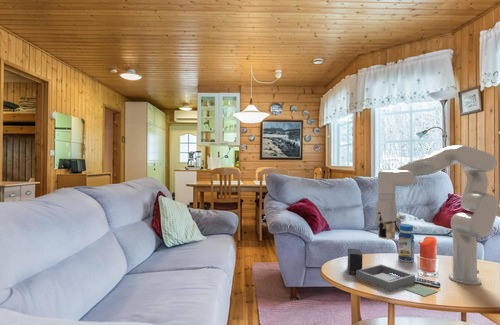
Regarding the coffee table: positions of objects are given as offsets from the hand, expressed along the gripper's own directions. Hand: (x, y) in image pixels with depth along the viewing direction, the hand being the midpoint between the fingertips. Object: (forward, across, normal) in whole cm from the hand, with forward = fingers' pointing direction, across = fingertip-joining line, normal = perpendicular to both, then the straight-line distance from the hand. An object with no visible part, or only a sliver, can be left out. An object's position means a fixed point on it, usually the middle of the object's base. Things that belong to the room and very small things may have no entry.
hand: (386, 235), depth 149 cm
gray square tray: (+21, 0, -1) cm, 21 cm away
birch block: (+1, 0, 0) cm, 1 cm away
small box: (+21, +2, -17) cm, 27 cm away
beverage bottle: (+22, -38, -16) cm, 47 cm away
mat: (+21, -4, +14) cm, 26 cm away
